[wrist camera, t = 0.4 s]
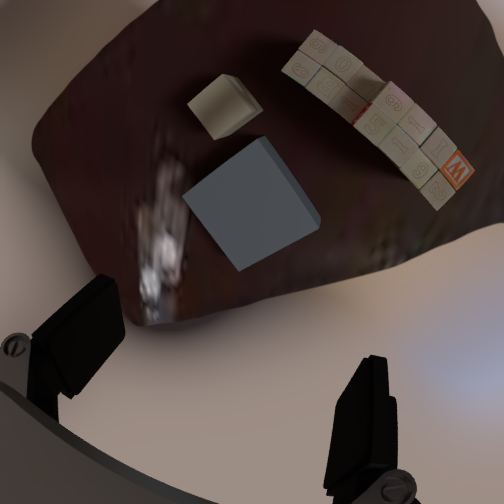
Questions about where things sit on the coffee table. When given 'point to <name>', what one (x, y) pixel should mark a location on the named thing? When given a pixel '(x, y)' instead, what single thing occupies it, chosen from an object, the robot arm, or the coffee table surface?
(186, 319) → the coffee table surface
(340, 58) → the stack of blocks
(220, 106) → the cream block
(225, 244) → the slate base plinth
